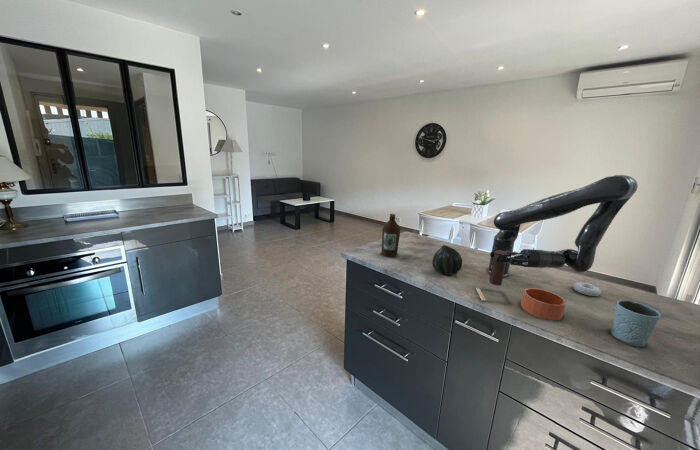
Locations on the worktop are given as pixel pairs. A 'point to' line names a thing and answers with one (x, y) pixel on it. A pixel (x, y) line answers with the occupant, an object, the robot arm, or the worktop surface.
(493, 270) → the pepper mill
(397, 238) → the olive oil
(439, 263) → the squash
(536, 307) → the pot
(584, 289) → the donut
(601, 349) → the worktop surface
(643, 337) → the blue embossed planter
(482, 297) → the cloth
